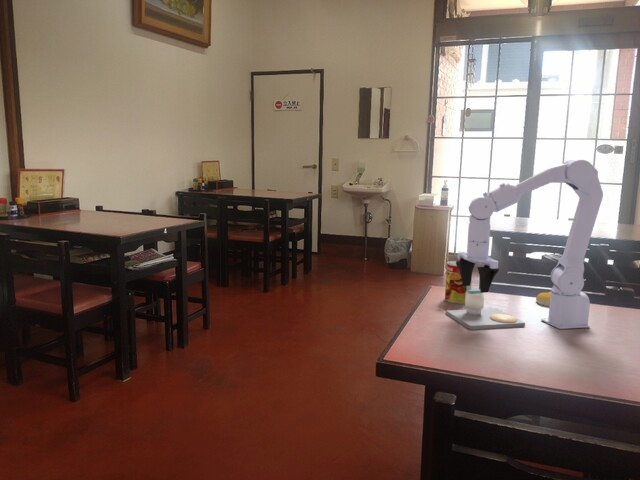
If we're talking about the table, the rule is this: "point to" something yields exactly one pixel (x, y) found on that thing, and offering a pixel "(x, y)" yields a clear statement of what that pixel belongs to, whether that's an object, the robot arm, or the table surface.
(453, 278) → the canned food
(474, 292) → the cap
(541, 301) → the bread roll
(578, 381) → the table surface
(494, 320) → the post board
